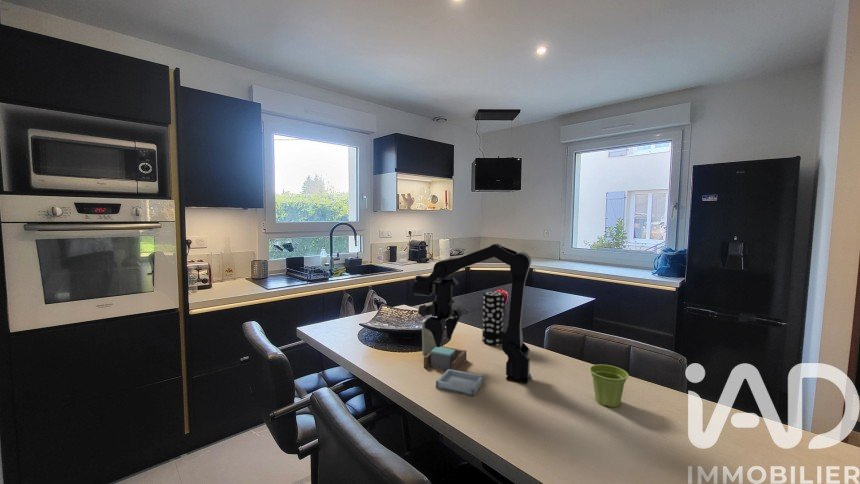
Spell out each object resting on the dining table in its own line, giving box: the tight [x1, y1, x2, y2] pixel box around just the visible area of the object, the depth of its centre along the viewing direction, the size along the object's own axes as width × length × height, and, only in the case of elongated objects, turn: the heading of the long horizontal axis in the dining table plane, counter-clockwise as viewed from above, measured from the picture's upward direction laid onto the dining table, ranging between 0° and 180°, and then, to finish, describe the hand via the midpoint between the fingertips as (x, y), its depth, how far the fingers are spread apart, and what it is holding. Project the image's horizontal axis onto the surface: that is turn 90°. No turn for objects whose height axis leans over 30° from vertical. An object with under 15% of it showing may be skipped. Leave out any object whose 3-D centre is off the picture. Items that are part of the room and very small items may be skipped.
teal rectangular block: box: [430, 346, 457, 371], centre depth 119 cm, size 7×5×6 cm
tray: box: [435, 369, 484, 397], centre depth 106 cm, size 12×10×2 cm
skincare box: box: [421, 318, 436, 355], centre depth 131 cm, size 6×4×12 cm
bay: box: [423, 345, 467, 371], centre depth 121 cm, size 11×12×4 cm
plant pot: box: [589, 363, 629, 408], centre depth 96 cm, size 9×9×9 cm
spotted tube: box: [481, 291, 505, 347], centre depth 142 cm, size 8×8×20 cm
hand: (443, 342), depth 119 cm, fingers open, 9 cm apart
